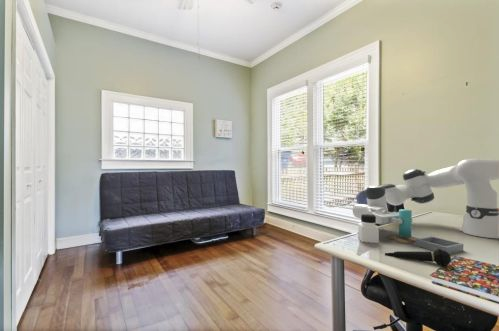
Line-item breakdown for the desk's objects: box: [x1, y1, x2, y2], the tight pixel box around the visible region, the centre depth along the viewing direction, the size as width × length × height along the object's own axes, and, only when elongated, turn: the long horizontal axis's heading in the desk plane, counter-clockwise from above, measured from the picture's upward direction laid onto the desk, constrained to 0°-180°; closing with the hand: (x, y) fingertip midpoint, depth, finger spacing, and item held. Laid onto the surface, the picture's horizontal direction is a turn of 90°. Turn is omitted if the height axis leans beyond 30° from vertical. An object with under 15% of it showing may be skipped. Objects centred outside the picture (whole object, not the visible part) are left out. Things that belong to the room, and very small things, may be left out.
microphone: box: [384, 249, 452, 267], centre depth 89 cm, size 6×6×20 cm
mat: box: [388, 235, 419, 245], centre depth 113 cm, size 12×8×1 cm, turn 114°
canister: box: [398, 208, 413, 237], centre depth 114 cm, size 5×5×12 cm
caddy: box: [414, 236, 464, 255], centre depth 102 cm, size 12×12×3 cm
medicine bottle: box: [357, 214, 380, 244], centre depth 112 cm, size 7×7×12 cm
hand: (406, 221), depth 113 cm, fingers closed on canister, 5 cm apart
